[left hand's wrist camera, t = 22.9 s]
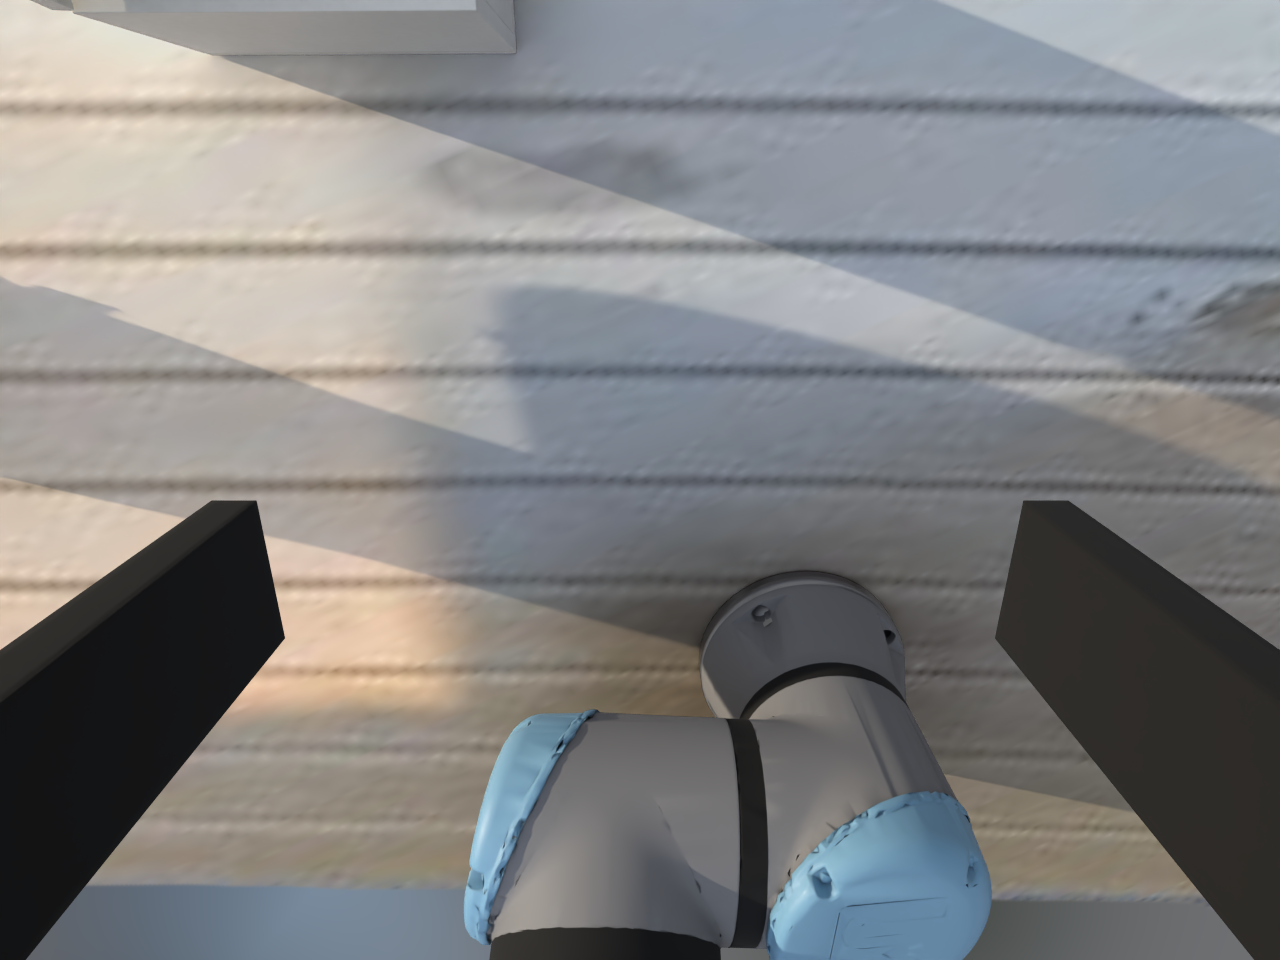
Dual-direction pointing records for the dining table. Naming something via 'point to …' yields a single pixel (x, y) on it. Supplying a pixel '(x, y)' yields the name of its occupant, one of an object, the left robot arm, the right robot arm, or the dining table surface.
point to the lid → (56, 4)
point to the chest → (316, 25)
